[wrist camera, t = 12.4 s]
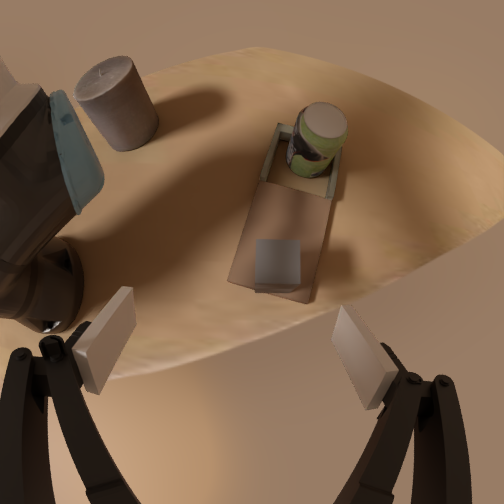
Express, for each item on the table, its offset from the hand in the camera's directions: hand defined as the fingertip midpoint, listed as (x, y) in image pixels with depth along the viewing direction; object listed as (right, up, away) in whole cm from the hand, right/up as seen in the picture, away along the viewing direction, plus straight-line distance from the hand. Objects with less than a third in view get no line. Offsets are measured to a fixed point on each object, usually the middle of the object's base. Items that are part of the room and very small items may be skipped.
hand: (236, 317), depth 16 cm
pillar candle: (-20, +25, +24) cm, 40 cm away
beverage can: (+9, +16, +21) cm, 28 cm away
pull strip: (+6, +10, +19) cm, 23 cm away
